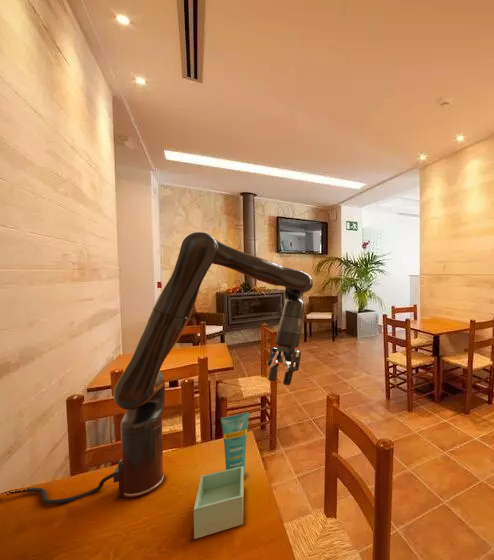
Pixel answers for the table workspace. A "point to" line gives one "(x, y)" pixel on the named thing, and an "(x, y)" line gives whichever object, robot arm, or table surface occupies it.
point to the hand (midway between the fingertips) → (278, 382)
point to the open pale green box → (219, 502)
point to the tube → (235, 440)
